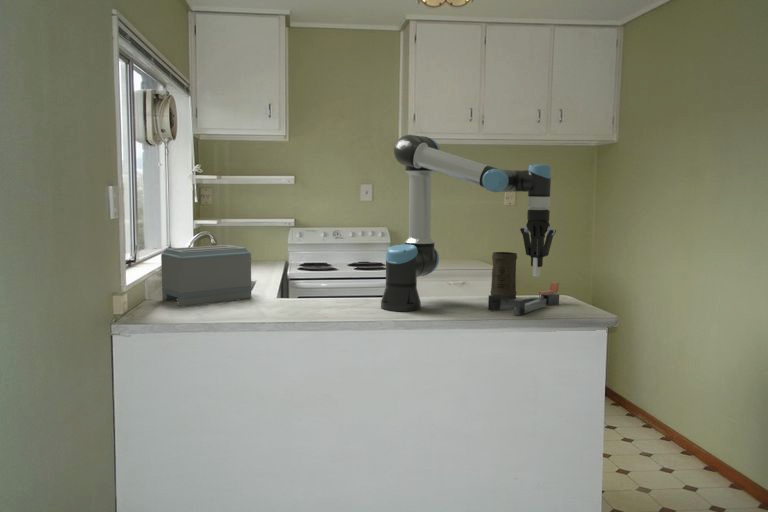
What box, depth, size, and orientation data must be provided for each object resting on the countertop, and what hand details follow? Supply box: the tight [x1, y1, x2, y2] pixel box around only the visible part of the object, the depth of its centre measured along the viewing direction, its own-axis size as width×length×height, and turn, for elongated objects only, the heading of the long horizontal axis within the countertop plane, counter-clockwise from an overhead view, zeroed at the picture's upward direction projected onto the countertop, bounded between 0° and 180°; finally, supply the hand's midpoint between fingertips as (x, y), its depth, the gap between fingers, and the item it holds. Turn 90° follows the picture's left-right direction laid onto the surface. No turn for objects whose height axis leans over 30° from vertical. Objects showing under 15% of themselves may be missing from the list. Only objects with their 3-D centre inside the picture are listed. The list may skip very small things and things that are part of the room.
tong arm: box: [513, 298, 547, 316], centre depth 236 cm, size 23×2×5 cm, turn 142°
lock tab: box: [538, 281, 560, 294], centre depth 249 cm, size 8×3×4 cm, turn 122°
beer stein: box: [490, 251, 518, 301], centre depth 257 cm, size 15×11×20 cm
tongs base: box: [487, 293, 560, 312], centre depth 243 cm, size 32×5×6 cm, turn 122°
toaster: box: [160, 244, 252, 308], centre depth 250 cm, size 19×33×20 cm, turn 132°
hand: (536, 275), depth 223 cm, fingers closed
